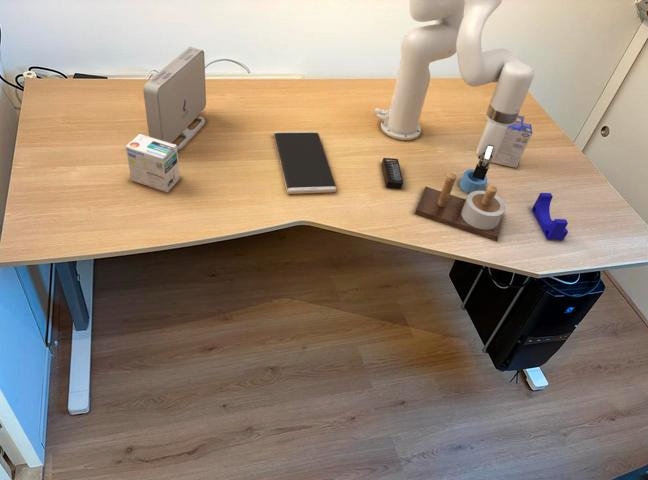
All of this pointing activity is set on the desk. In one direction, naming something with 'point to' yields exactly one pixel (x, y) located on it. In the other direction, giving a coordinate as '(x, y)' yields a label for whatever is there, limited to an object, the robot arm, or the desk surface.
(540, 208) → the cable clip
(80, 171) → the desk surface
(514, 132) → the ink cartridge box
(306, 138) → the smartphone
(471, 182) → the tape roll
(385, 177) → the multiport hub
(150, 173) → the light bulb box
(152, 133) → the network device
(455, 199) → the tape stand
